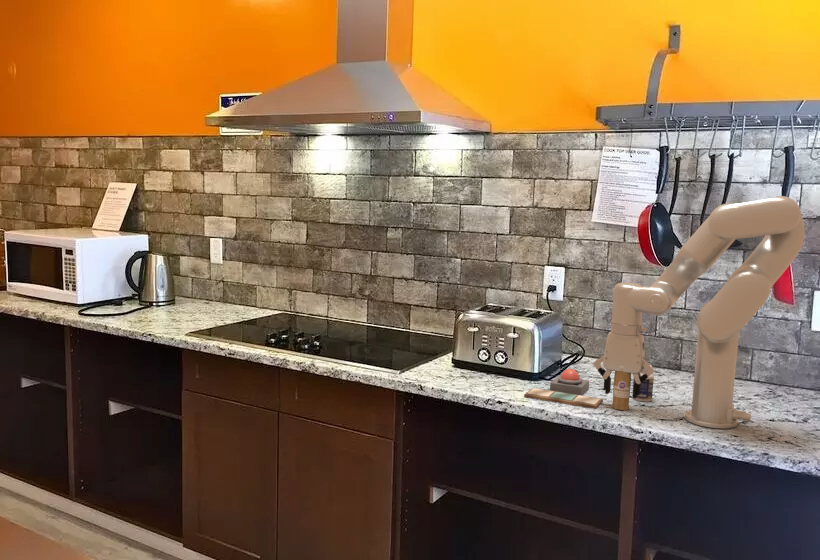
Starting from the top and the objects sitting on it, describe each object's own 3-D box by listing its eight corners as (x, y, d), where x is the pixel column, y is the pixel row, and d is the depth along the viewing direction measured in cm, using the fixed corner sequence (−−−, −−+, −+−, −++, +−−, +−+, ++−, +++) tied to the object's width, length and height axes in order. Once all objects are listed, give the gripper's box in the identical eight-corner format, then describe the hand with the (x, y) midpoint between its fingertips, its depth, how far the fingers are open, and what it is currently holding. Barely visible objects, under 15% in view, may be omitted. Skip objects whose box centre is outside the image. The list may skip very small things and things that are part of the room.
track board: (602, 401, 208) (603, 398, 208) (596, 408, 201) (596, 405, 201) (533, 390, 217) (533, 387, 217) (524, 397, 210) (524, 393, 210)
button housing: (588, 389, 220) (589, 380, 220) (580, 396, 212) (581, 387, 212) (558, 384, 224) (559, 375, 224) (549, 391, 216) (550, 382, 216)
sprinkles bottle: (614, 410, 200) (617, 360, 198) (609, 405, 205) (613, 356, 203) (631, 410, 200) (634, 361, 198) (626, 405, 205) (630, 357, 203)
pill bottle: (651, 403, 208) (653, 368, 207) (630, 400, 210) (633, 366, 209) (653, 398, 213) (655, 364, 212) (633, 395, 215) (635, 362, 214)
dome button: (584, 387, 219) (585, 368, 219) (578, 392, 213) (579, 373, 213) (561, 383, 223) (562, 365, 222) (554, 388, 217) (555, 369, 216)
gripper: (662, 331, 199) (657, 396, 201) (596, 323, 207) (592, 387, 209) (657, 335, 192) (652, 403, 195) (589, 328, 200) (585, 393, 202)
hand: (621, 394), depth 202 cm, fingers open, 6 cm apart
